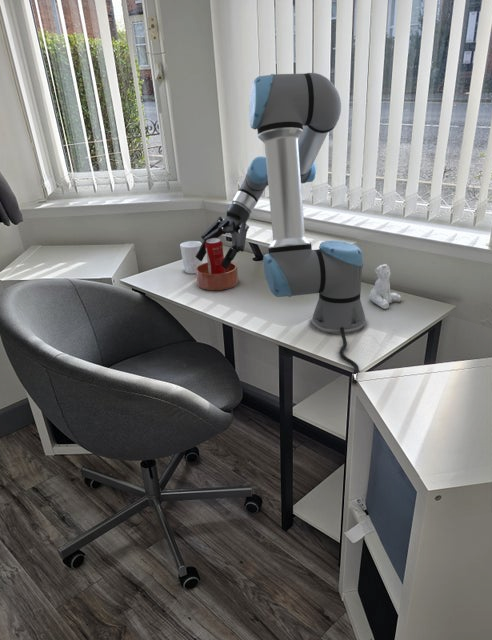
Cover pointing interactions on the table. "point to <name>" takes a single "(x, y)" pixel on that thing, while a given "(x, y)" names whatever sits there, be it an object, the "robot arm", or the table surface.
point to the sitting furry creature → (383, 288)
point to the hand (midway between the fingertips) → (210, 263)
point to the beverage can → (214, 255)
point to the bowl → (216, 277)
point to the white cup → (190, 255)
